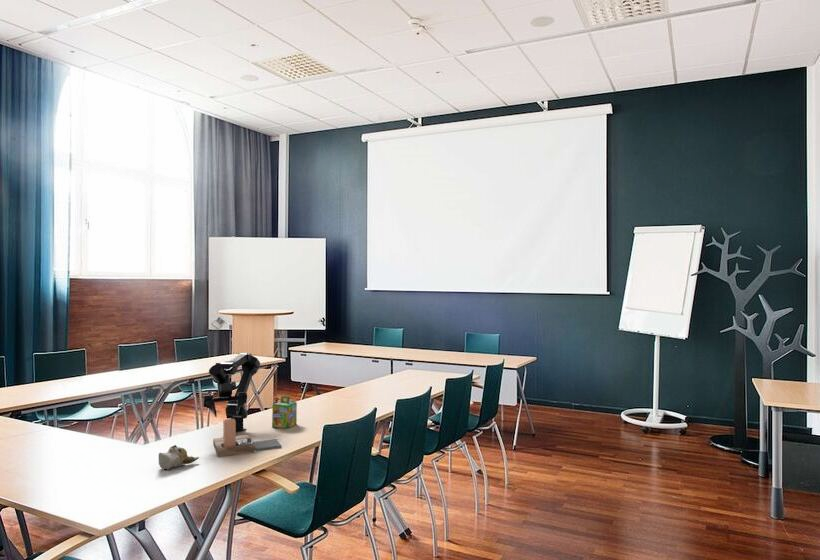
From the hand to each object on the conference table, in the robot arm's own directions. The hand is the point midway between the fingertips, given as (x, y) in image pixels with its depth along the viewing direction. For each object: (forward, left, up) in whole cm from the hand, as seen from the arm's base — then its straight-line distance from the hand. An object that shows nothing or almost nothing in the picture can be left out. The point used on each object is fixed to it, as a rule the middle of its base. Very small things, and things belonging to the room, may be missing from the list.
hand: (227, 415), depth 255 cm
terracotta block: (+8, -3, -13) cm, 16 cm away
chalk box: (-11, +36, -14) cm, 40 cm away
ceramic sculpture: (+12, -28, -14) cm, 33 cm away
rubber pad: (+13, +12, -13) cm, 22 cm away
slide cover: (+10, +3, -11) cm, 15 cm away
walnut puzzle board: (+6, 0, -13) cm, 14 cm away
